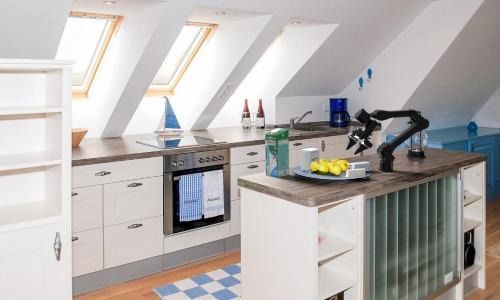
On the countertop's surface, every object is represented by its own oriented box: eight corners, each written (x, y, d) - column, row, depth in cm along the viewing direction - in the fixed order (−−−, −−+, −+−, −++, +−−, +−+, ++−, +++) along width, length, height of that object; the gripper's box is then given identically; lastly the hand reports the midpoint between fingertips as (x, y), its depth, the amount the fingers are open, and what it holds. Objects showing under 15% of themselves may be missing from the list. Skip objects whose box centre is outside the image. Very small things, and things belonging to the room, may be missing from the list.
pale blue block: (366, 170, 269) (366, 161, 268) (370, 171, 265) (370, 162, 264) (350, 171, 266) (350, 163, 265) (354, 173, 262) (354, 164, 261)
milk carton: (265, 175, 262) (264, 129, 258) (277, 172, 268) (276, 127, 264) (278, 177, 256) (277, 131, 251) (289, 174, 262) (288, 129, 257)
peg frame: (334, 174, 261) (334, 165, 260) (350, 172, 264) (350, 163, 263) (347, 180, 246) (348, 170, 245) (365, 178, 249) (365, 169, 248)
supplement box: (310, 173, 264) (310, 150, 262) (300, 171, 269) (300, 149, 267) (319, 171, 268) (319, 149, 266) (310, 169, 274) (309, 147, 272)
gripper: (350, 117, 266) (332, 139, 267) (366, 124, 249) (348, 148, 249) (363, 128, 270) (346, 150, 271) (380, 136, 253) (362, 160, 254)
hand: (350, 152), depth 261 cm, fingers open, 9 cm apart
